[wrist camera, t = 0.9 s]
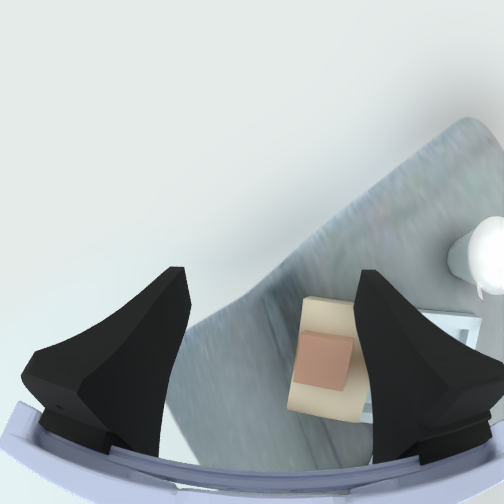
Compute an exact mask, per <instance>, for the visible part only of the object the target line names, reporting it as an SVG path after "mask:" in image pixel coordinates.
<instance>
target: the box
mask: <svg viewBox="0 0 504 504" xmlns="http://www.w3.org/2000/svg"><path fill="white" fill-rule="evenodd" d="M417 310H418V311H419V312H421V313H422V314H423V315H424V316H425V317H426V318H428V319H429V320H430V321H431V322H433V323H434V324H435V325H437V326H438V327H439V328H441V329H442V330H443V331H445V332H446V333H448V334H449V335H451V336H452V337H454V338H455V339H457V340H458V341H460V342H462V343H463V344H465V345H467V346H469V347H470V348H472V349H474V350H475V347H476V342H477V338H478V333H479V329H480V323H481V317H479V316H477V315H475V314H471V313H458V312H447V311H436V310H426V309H417ZM359 422H365V423H372V424H373V415H372V401H371V391H370V386H369V390H368V393H367V397H366V401H365V404H364V408H363V411H362V415H361V418H360V421H359Z"/></svg>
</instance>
